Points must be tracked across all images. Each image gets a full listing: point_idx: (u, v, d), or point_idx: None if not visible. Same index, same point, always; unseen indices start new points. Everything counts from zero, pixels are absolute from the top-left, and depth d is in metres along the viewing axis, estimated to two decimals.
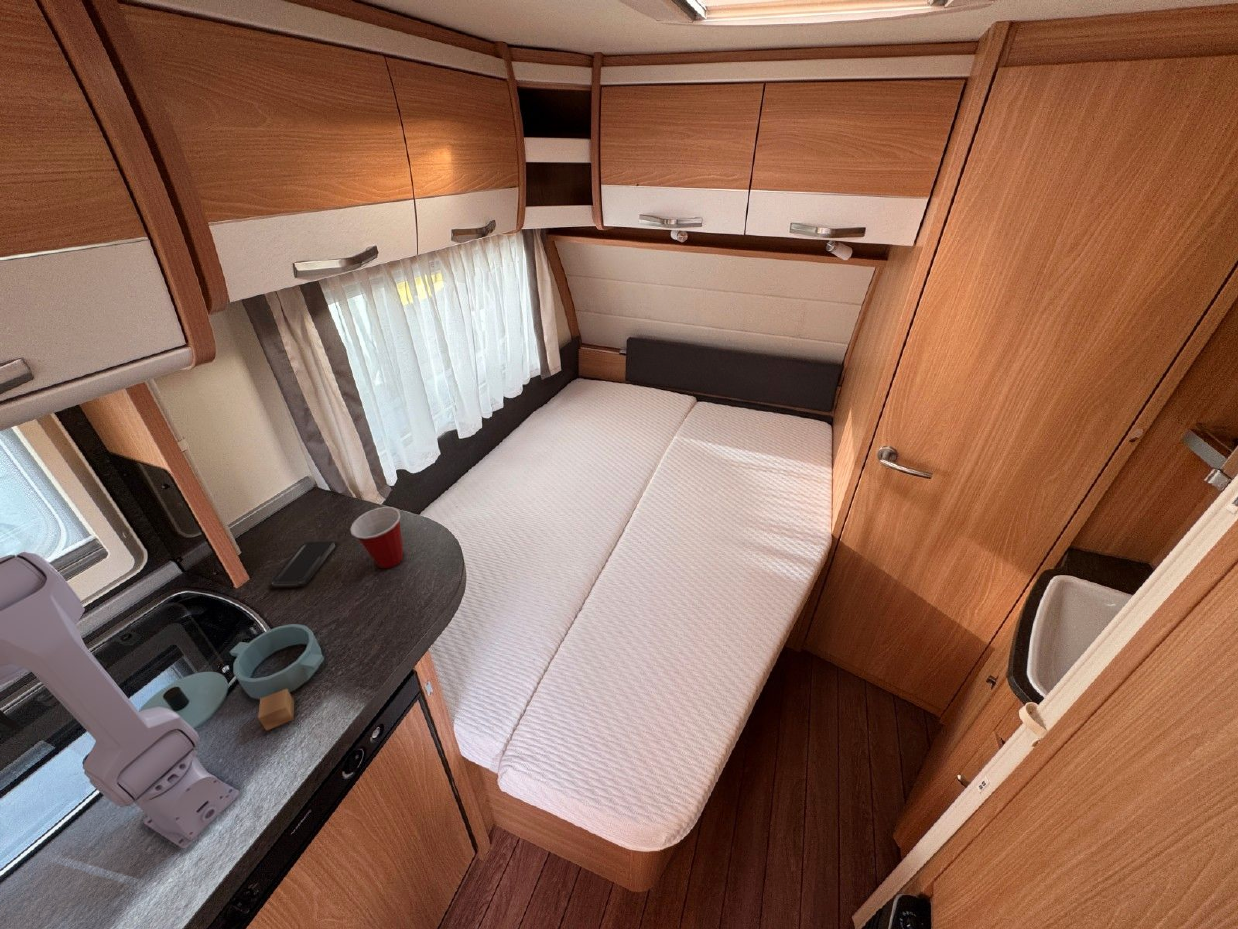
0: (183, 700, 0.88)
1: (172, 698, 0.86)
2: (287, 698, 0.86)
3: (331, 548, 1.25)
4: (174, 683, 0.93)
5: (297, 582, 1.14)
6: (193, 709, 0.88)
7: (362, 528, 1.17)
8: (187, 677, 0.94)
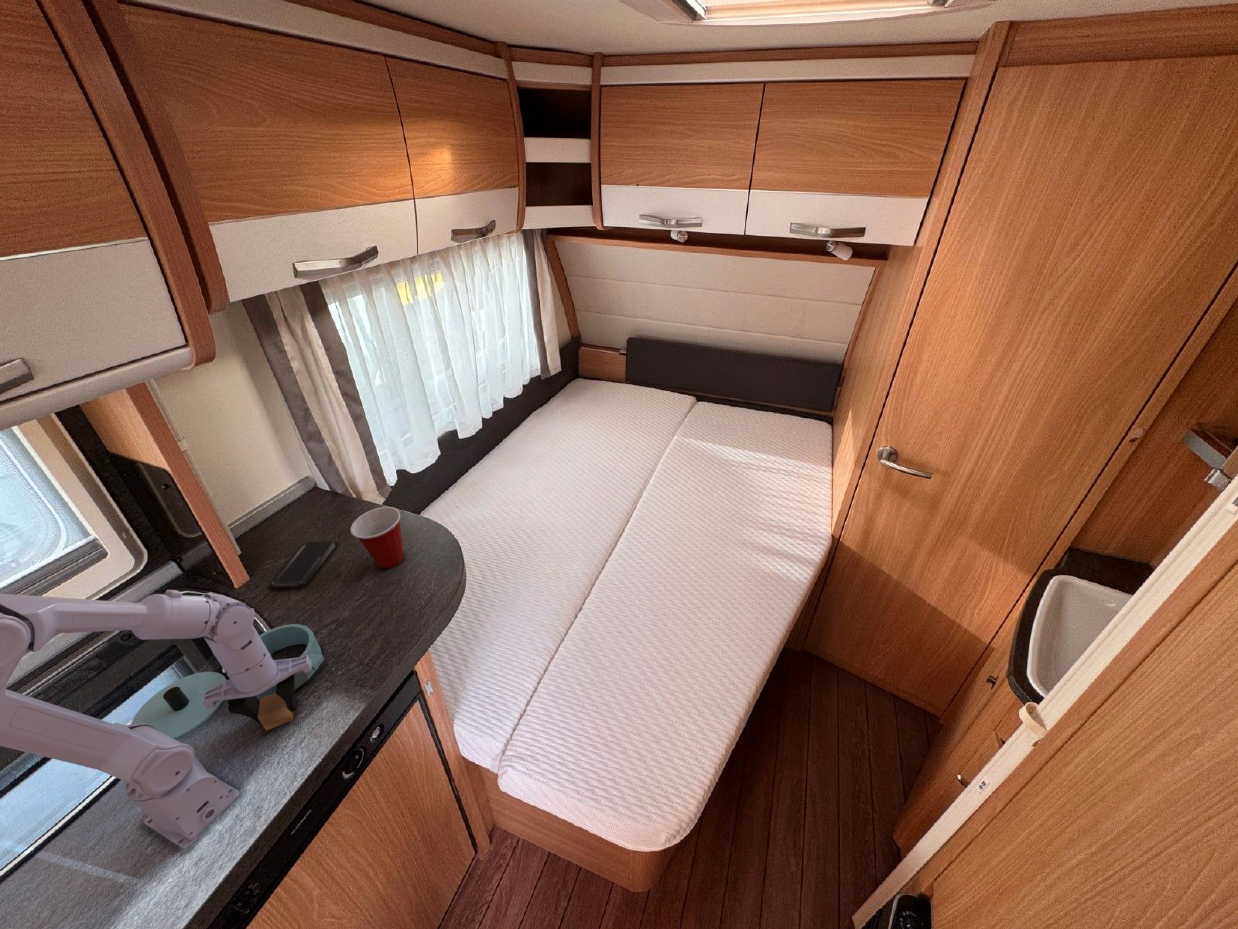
0: (183, 700, 0.88)
1: (172, 698, 0.86)
2: None
3: (331, 548, 1.25)
4: (174, 683, 0.93)
5: (297, 582, 1.14)
6: (193, 709, 0.88)
7: (362, 528, 1.17)
8: (187, 677, 0.94)
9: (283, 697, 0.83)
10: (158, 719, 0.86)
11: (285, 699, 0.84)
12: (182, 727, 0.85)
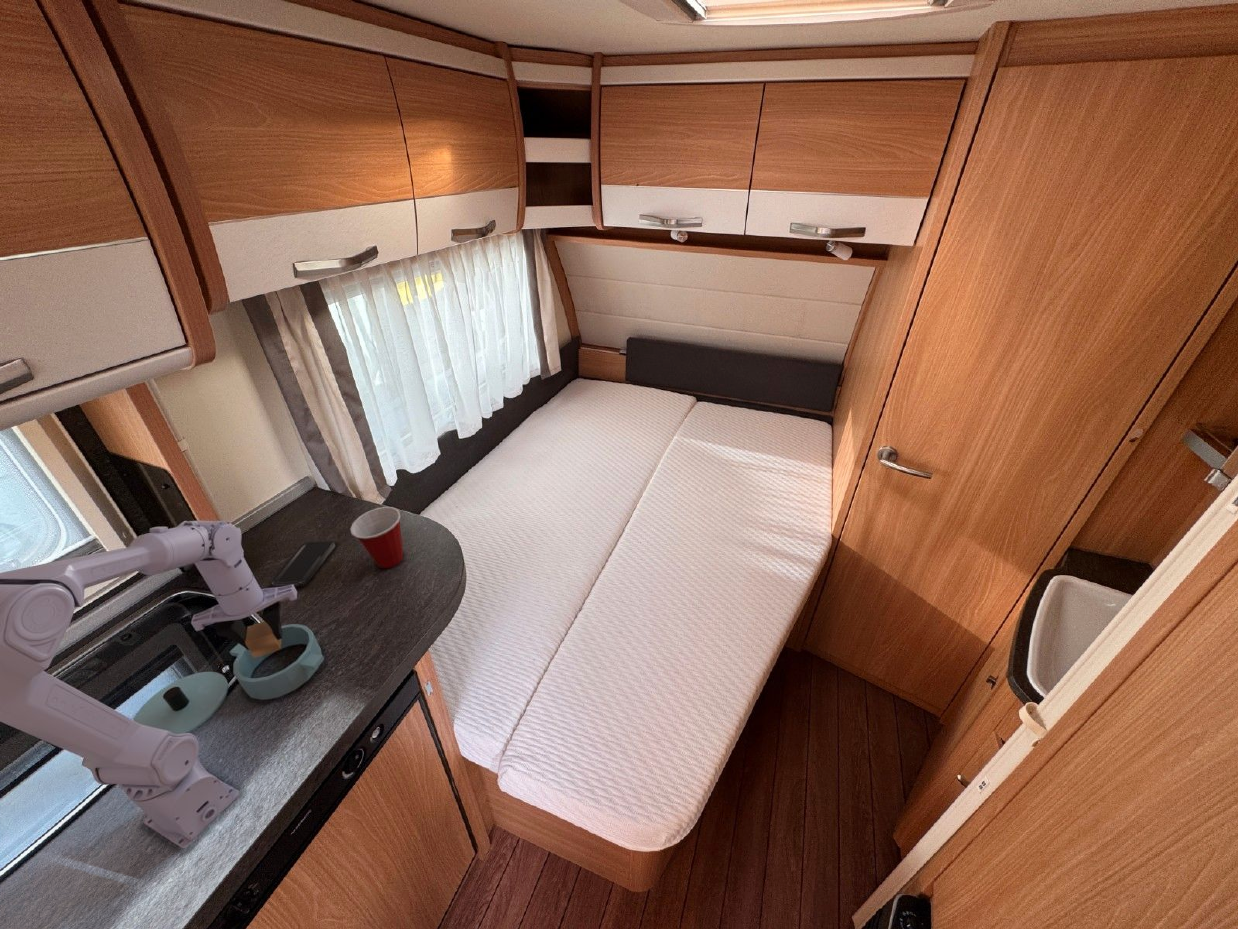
0: (183, 700, 0.88)
1: (172, 698, 0.86)
2: None
3: (331, 548, 1.25)
4: (174, 683, 0.93)
5: (297, 582, 1.14)
6: (193, 709, 0.88)
7: (362, 528, 1.17)
8: (187, 677, 0.94)
9: (269, 623, 0.87)
10: (158, 719, 0.86)
11: (271, 626, 0.87)
12: (182, 727, 0.85)
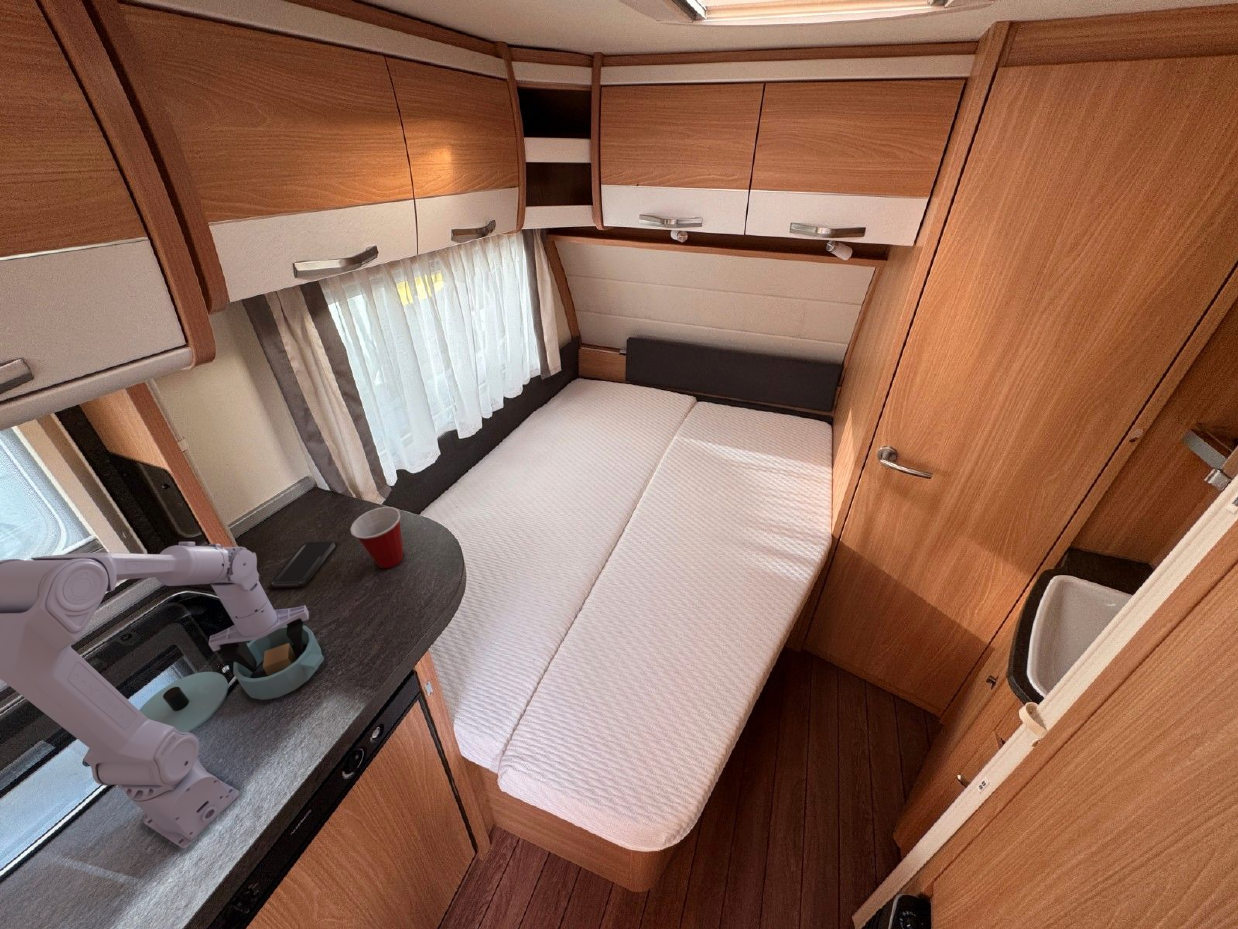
0: (183, 700, 0.88)
1: (172, 698, 0.86)
2: (289, 651, 0.94)
3: (331, 548, 1.25)
4: (174, 683, 0.93)
5: (297, 582, 1.14)
6: (193, 709, 0.88)
7: (362, 528, 1.17)
8: (187, 677, 0.94)
9: (292, 639, 0.91)
10: (158, 719, 0.86)
11: (294, 642, 0.92)
12: (182, 727, 0.85)
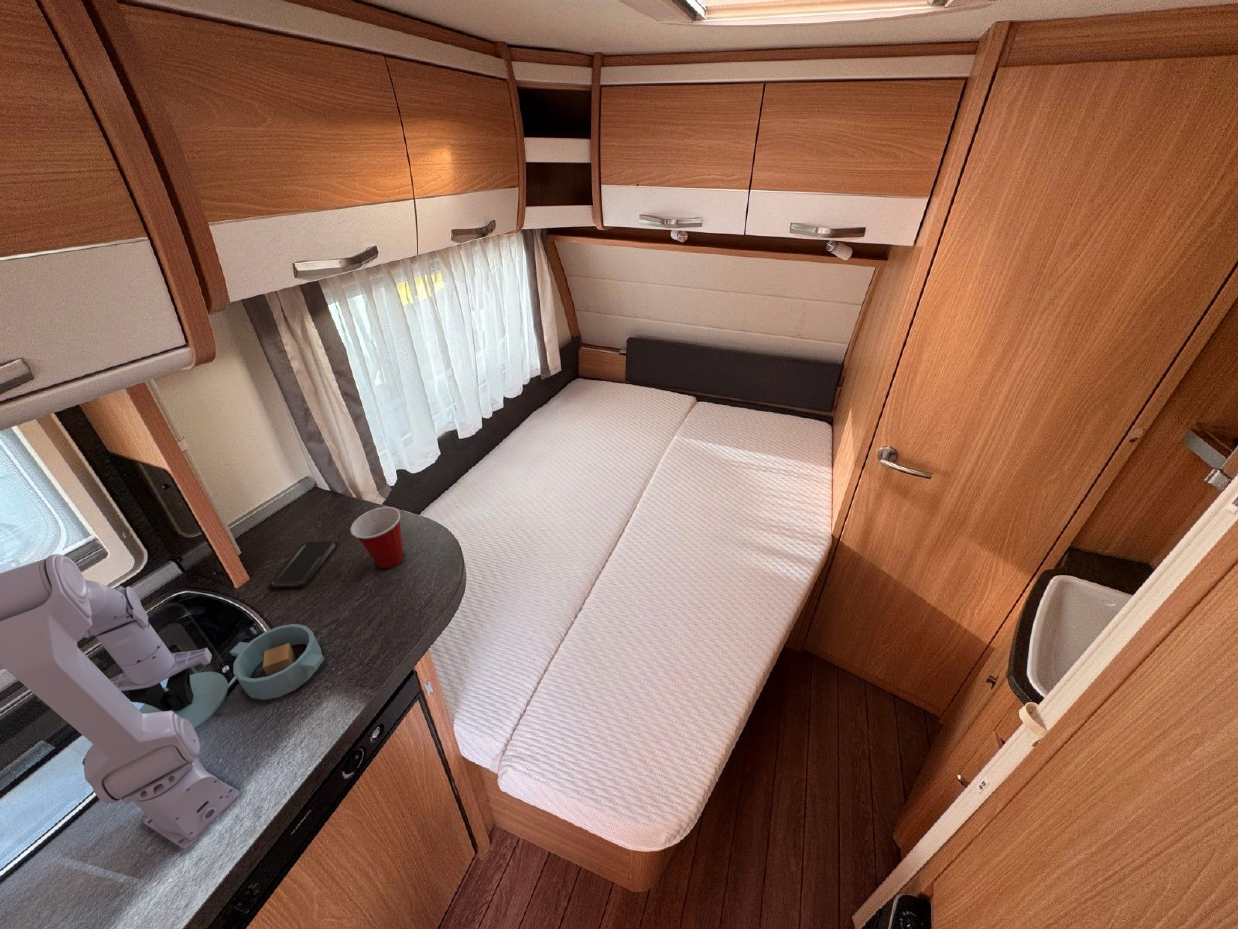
0: None
1: (172, 698, 0.86)
2: (289, 651, 0.94)
3: (331, 548, 1.25)
4: None
5: (297, 582, 1.14)
6: (193, 709, 0.88)
7: (362, 528, 1.17)
8: None
9: (175, 691, 0.85)
10: None
11: (178, 693, 0.86)
12: None
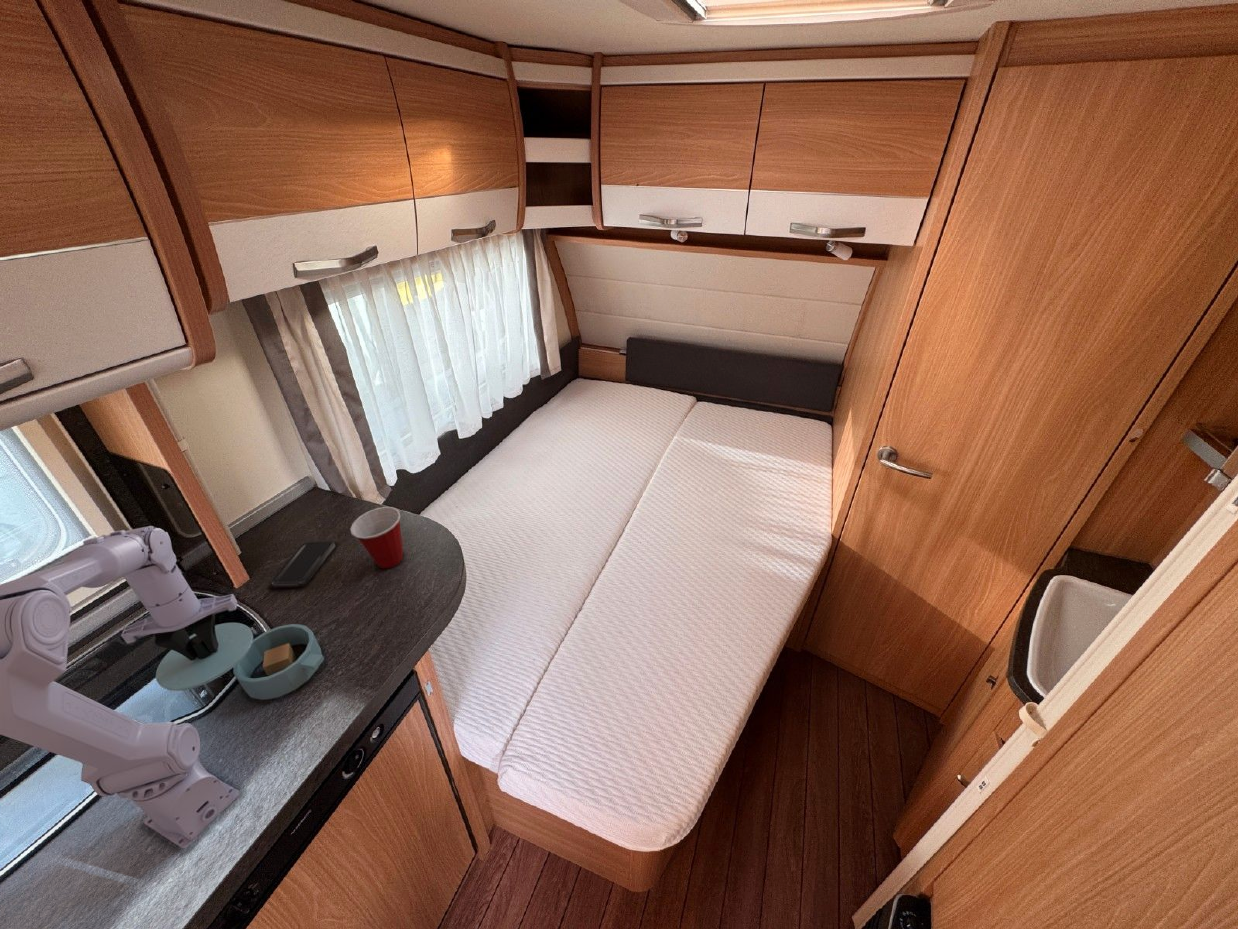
0: None
1: (197, 645, 0.84)
2: (289, 651, 0.94)
3: (331, 548, 1.25)
4: None
5: (297, 582, 1.14)
6: (218, 657, 0.86)
7: (362, 528, 1.17)
8: None
9: (201, 636, 0.83)
10: (183, 666, 0.85)
11: (204, 639, 0.84)
12: (208, 673, 0.83)
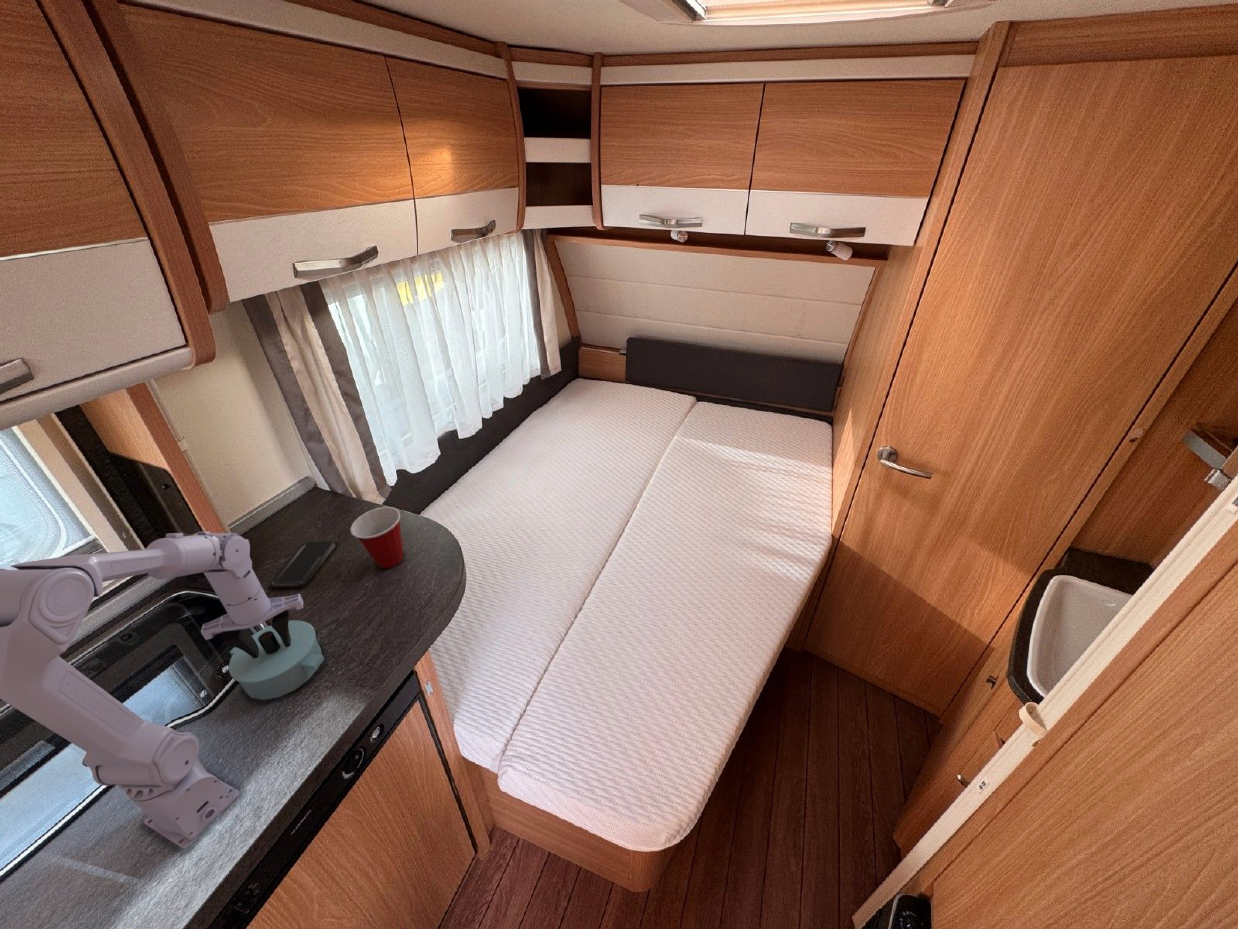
0: (276, 644, 0.92)
1: (267, 641, 0.90)
2: None
3: (331, 548, 1.25)
4: (263, 630, 0.96)
5: (297, 582, 1.14)
6: (285, 652, 0.91)
7: (362, 528, 1.17)
8: None
9: (278, 631, 0.89)
10: (253, 661, 0.90)
11: (280, 633, 0.90)
12: (278, 668, 0.89)
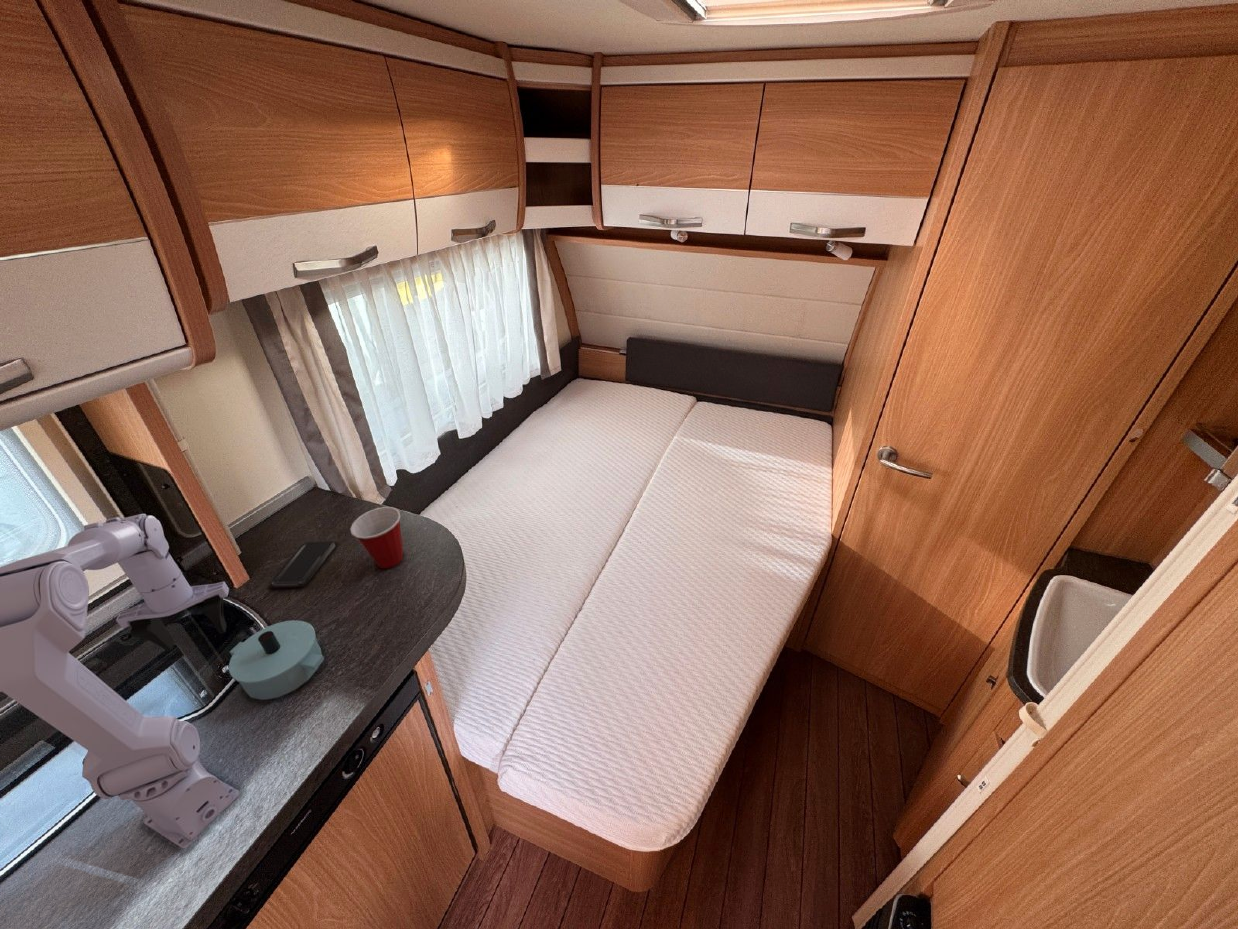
0: (276, 644, 0.92)
1: (267, 641, 0.90)
2: None
3: (331, 548, 1.25)
4: (263, 630, 0.96)
5: (297, 582, 1.14)
6: (285, 652, 0.91)
7: (362, 528, 1.17)
8: (274, 625, 0.97)
9: (210, 617, 0.87)
10: (253, 661, 0.90)
11: (212, 619, 0.87)
12: (278, 668, 0.89)
